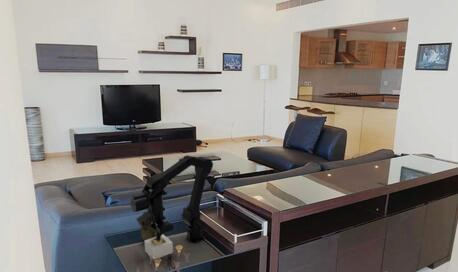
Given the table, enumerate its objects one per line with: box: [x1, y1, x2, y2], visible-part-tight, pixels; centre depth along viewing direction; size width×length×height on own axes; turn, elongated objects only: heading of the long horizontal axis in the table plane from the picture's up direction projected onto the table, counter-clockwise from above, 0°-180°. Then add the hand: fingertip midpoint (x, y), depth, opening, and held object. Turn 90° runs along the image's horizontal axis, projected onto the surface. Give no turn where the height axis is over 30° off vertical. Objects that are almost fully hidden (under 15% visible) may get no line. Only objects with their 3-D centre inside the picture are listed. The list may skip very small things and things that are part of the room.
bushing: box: [154, 237, 163, 246], centre depth 147 cm, size 4×4×6 cm
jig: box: [143, 233, 174, 260], centre depth 147 cm, size 9×9×5 cm
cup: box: [139, 226, 156, 241], centre depth 155 cm, size 8×7×8 cm
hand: (158, 239), depth 146 cm, fingers closed, pressing on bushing
